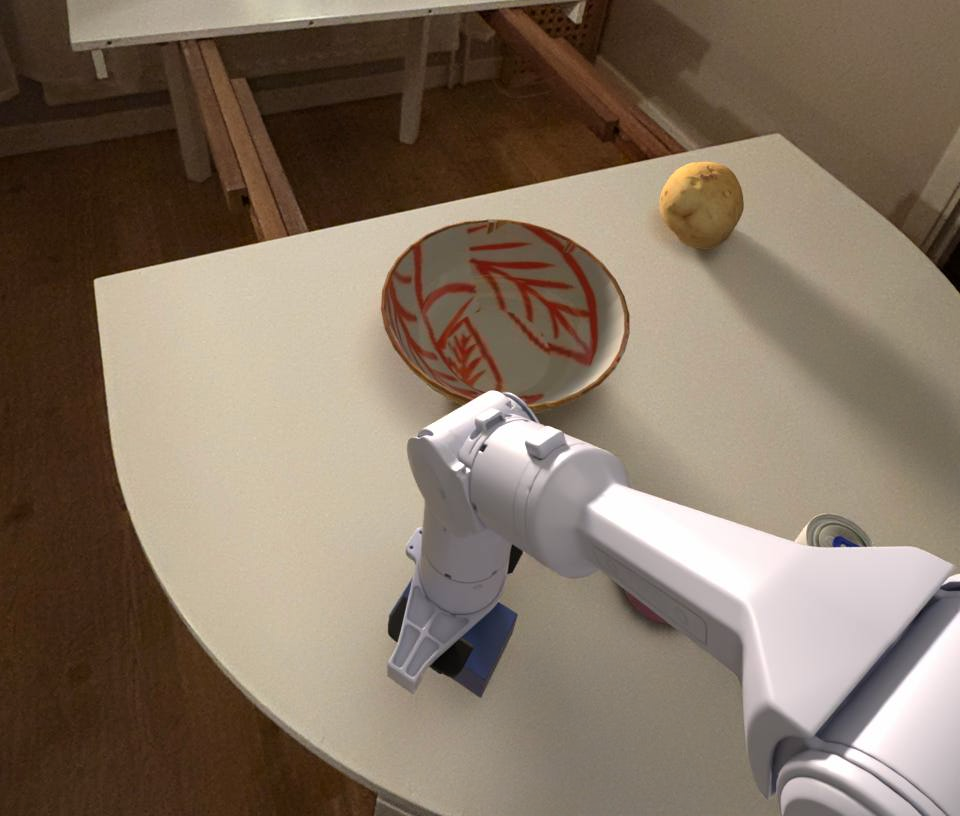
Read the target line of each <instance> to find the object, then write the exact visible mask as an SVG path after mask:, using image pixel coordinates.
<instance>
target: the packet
mask: <svg viewBox="0 0 960 816" xmlns="http://www.w3.org/2000/svg"><path fill="white" fill-rule="evenodd" d="M412 579H413V576H412V578H411V579H410V581H409V582H408V584H407V585H406V587H405V589H404V590H403V592H402V593H401V594H400V596H399V598H398V600H397V602H396V603H395V604H394V606H393V608H392V609H391V611H390V613H389V614H388V619H389V618H390V616H391V614H392V613H393V611H394V610H395V608H396V606H397V605H398V603H399V601H400V600H401V598H402V597H403V596H404V597H406V598H408V597H409V593H410V588H411V584H412ZM518 615H519V614H518V613H517V612H516V611H514V610H512V609H511V608H509V607H508V606H506V605H504V604H503V603H502V602H500V601H499V602H498V603H497V604H496V606H495V607H494V608H493V609H492V610H491V611H490V612H489V613H488V614H487V615H485V616H484V617H483V618H482V619H481V620H480V621H479V622H478V623H476V624H475V625H474V626H473V627H472V628H471V629H470V630H469V631H467V632H466V633H465V634H464V635H463V636H462V637H461V638H463V639H464V640H466V641H467V642H469V643H470V644H472V645H474V648H473V650H472V652H471V654H470V656H469V658H468V660H467V662H466V664H465V665H464V667H463V669H462V671H461V672H460V673H459V674H458V675H457V676H456V677H455V678H451V679H452V680H453V681H455V682H456V683H457V684H459V685H460V686H462V687H464V688H465V689H467V690H468V691H469V692H471V694H474V695H475V696H477V697H478V698H480V699H481V698H482V697H483V695H484V694H485V691H486V689H487V687H488V685H489V683H490V680H491V679H492V677H493V676H494V675H493V674H494V672H495V671H496V669H497V667H498V664H499V662H500V660H501V658H502V657H503V655H504V652H505V650H506V648H507V646H508V644H509V642H510V640H511V638H512V636H513V633H514V630H515V626H516V623H517V619H518ZM387 635H388V636H389V634H388V633H387Z"/></svg>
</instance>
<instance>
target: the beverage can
mask: <svg viewBox="0 0 960 816" xmlns="http://www.w3.org/2000/svg"><path fill="white" fill-rule="evenodd" d="M793 542H796V543H799V544H802V545H806V546H812V547H877V546H876V545H875V543H874V541H873V540H872V538H871V537H870V535H869V534H868V533H867V532H866V531H865V530H864V529H863V528H862V527H861V526H860V525H858V524H857V523H856V522H854V521H853V520H851V519H850V518H848V517H845V516H844V515H840V514H837V513H832V512H831V513H829V512H826V513H820V514H817V515H815V516H813V517H812V518H811V519H810V520H809V521H808V523H807V524H806V525H805V526H804V527H803V529H802V530H801V532H800V533H799V534H798V536H797V537H796V538H795V540H794V541H793Z"/></svg>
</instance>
